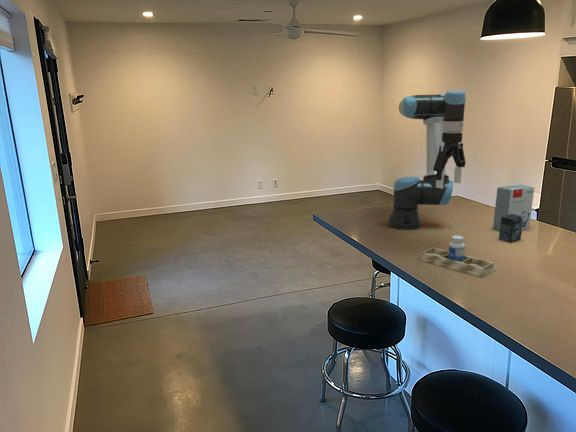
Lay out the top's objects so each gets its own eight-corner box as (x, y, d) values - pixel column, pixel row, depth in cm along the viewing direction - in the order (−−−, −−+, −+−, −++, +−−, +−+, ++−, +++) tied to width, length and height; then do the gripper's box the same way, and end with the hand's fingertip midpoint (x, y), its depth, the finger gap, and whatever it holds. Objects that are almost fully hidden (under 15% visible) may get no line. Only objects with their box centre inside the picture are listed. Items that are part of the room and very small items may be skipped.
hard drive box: (505, 233, 212) (509, 189, 207) (492, 228, 219) (496, 187, 214) (530, 228, 218) (534, 186, 213) (516, 224, 225) (520, 184, 220)
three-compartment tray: (418, 259, 180) (419, 252, 179) (433, 253, 186) (433, 246, 186) (481, 277, 162) (482, 269, 161) (495, 270, 168) (495, 262, 167)
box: (510, 242, 198) (513, 218, 196) (498, 239, 203) (500, 216, 200) (521, 239, 203) (523, 216, 200) (509, 236, 207) (511, 213, 205)
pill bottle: (445, 259, 176) (447, 235, 174) (459, 259, 177) (461, 234, 174) (451, 264, 171) (453, 239, 169) (465, 264, 171) (468, 238, 169)
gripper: (443, 135, 172) (440, 191, 178) (477, 130, 188) (472, 182, 194) (426, 134, 178) (422, 188, 183) (459, 129, 194) (456, 179, 199)
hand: (448, 185), depth 189 cm, fingers open, 13 cm apart
